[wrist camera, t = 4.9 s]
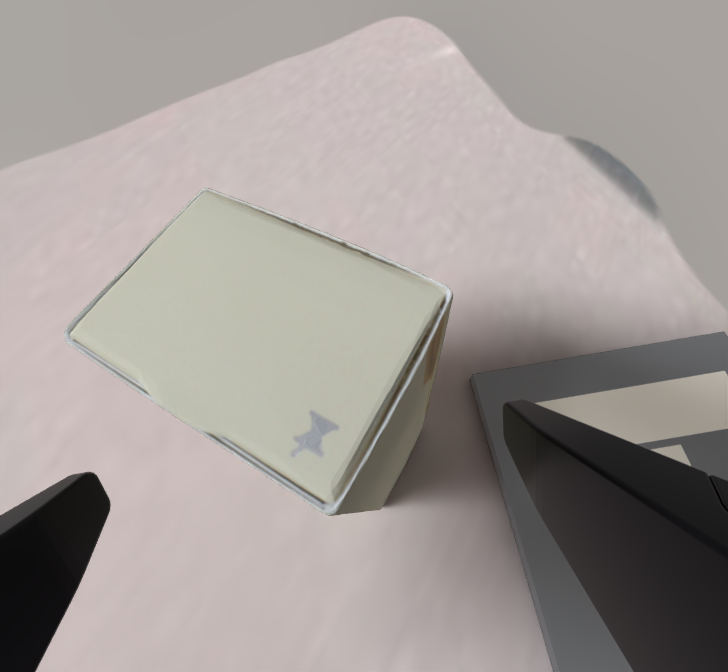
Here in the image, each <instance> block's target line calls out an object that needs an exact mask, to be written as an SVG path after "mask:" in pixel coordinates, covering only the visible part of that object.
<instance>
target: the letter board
mask: <svg viewBox="0 0 728 672" xmlns="http://www.w3.org/2000/svg"><path fill="white" fill-rule="evenodd" d="M470 382H471V385H472V389H473V392H474V396H475V399H476V403H477V406H478V410H479V413H480V417H481V420H482V424H483V427H484V431H485V434H486V438H487V441H488V445H489V448H490V452H491V455H492V459H493V462H494V466H495V469H496V473H497V476H498V480H499V483H500V487H501V490H502V494H503V497H504V501H505V504H506V508H507V511H508V515H509V518H510V522H511V525H512V529H513V532H514V536H515V539H516V543H517V546H518V550H519V553H520V557H521V560H522V564H523V567H524V571H525V574H526V578H527V581H528V585H529V588H530V591H531V595H532V598H533V602H534V605H535V609H536V612H537V616H538V619H539V623H540V626H541V630H542V633H543V637H544V640H545V644H546V647H547V651H548V654H549V658H550V661H551V665H552V668H553V672H633V670H632V669H631V667H630V665H629V664H628V662H627V660H626V659H625V657H624V655H623V654H622V652H621V650H620V649H619V647H618V645H617V644H616V642H615V640H614V639H613V637H612V635H611V634H610V632H609V630H608V629H607V627H606V625H605V624H604V622H603V620H602V619H601V617H600V615H599V614H598V612H597V610H596V609H595V607H594V605H593V604H592V602H591V600H590V598H589V597H588V595H587V593H586V592H585V590H584V588H583V587H582V585H581V583H580V582H579V580H578V578H577V577H576V575H575V573H574V572H573V570H572V568H571V567H570V565H569V563H568V562H567V560H566V558H565V557H564V555H563V553H562V552H561V550H560V548H559V547H558V545H557V543H556V542H555V540H554V538H553V537H552V535H551V533H550V532H549V530H548V528H547V527H546V525H545V523H544V522H543V520H542V518H541V517H540V515H539V513H538V511H537V510H536V508H535V506H534V504H533V502H532V500H531V498H530V495H529V493H528V491H527V489H526V487H525V485H524V482H523V480H522V478H521V476H520V474H519V472H518V469H517V467H516V465H515V463H514V461H513V459H512V456H511V454H510V452H509V450H508V448H507V446H506V443H505V440H504V435H503V404H504V403H505V402H506V401H511V400H516V399H525V400H528V401H530V402H533V403H535V404H538V405H540V406H543V407H545V408H548V409H550V410H553V411H555V412H558V413H560V414H563V415H565V416H568V417H570V418H573V419H575V420H578V421H580V422H582V423H585V424H587V425H590V426H592V427H595V428H597V429H600V430H602V431H605V432H607V433H610V434H612V435H615V436H617V437H620V438H622V439H625V440H627V441H630V442H632V443H635V444H637V445H640V446H642V447H645V448H647V449H650V450H652V451H655V452H657V453H660V454H662V455H665V456H667V457H670V458H672V459H675V460H677V461H680V462H682V463H684V464H687V465H689V466H692V467H694V468H697V469H699V470H702V471H704V472H706V473H707V474H708V475H709V476H710V475H715V476H717V477H720V478H722V479H725V480H727V481H728V337H727V335H726V334H725V332H718V333H712V334H706V335H701V336H695V337H689V338H683V339H677V340H671V341H665V342H660V343H654V344H648V345H642V346H636V347H630V348H624V349H619V350H613V351H607V352H601V353H595V354H589V355H583V356H577V357H572V358H566V359H560V360H554V361H548V362H542V363H536V364H531V365H525V366H519V367H513V368H507V369H501V370H495V371H490V372H484V373H478V374H473V375H472V377H471V378H470Z"/></svg>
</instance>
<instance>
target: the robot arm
mask: <svg viewBox="0 0 728 672" xmlns="http://www.w3.org/2000/svg"><path fill="white" fill-rule="evenodd" d="M503 435H504V440H505V443H506V446H507V448H508V450H509V452H510V454H511V456H512V459H513V461H514V463H515V465H516V467H517V469H518V472H519V474H520V476H521V478H522V480H523V482H524V485H525V487H526V489H527V491H528V493H529V495H530V498H531V500H532V502H533V504H534V506H535V508H536V510H537V511H538V513H539V515H540V517H541V518H542V520H543V522H544V523H545V525H546V527H547V528H548V530H549V532H550V533H551V535H552V537H553V538H554V540H555V542H556V543H557V545H558V547H559V548H560V550H561V552H562V553H563V555H564V557H565V558H566V560H567V562H568V563H569V565H570V567H571V568H572V570H573V572H574V573H575V575H576V577H577V578H578V580H579V582H580V583H581V585H582V587H583V588H584V590H585V592H586V593H587V595H588V597H589V598H590V600H591V602H592V604H593V605H594V607H595V609H596V610H597V612H598V614H599V615H600V617H601V619H602V620H603V622H604V624H605V625H606V627H607V629H608V630H609V632H610V634H611V635H612V637H613V639H614V640H615V642H616V644H617V645H618V647H619V649H620V650H621V652H622V654H623V655H624V657H625V659H626V660H627V662H628V664H629V665H630V667H631V669H632V670H633V672H728V481H727V480H725V479H722V478H720V477H717V476H715V475H710V476H709V475H708V474H707V473H706V472H704V471H702V470H699V469H697V468H694V467H692V466H689V465H687V464H684V463H682V462H680V461H677V460H675V459H672V458H670V457H667V456H665V455H662V454H660V453H657V452H655V451H652V450H650V449H647V448H645V447H642V446H640V445H637V444H635V443H632V442H630V441H627V440H625V439H622V438H620V437H617V436H615V435H612V434H610V433H607V432H605V431H602V430H600V429H597V428H595V427H592V426H590V425H587V424H585V423H582V422H580V421H578V420H575V419H573V418H570V417H568V416H565V415H563V414H560V413H558V412H555V411H553V410H550V409H548V408H545V407H543V406H540V405H538V404H535V403H533V402H530V401H528V400H525V399H516V400H511V401H506V402H505V403H504V404H503ZM109 512H110V500H109V497H108V495H107V494H106V492H105V490H104V488H103V486H102V484H101V482H100V480H99V478H98V477H97V475H96V474H94V473H93V472H85V473H79V474H73V475H70V476H68V477H66V478H65V479H63V480H61V481H59V482H58V483H56V484H54V485H52V486H51V487H49V488H47V489H46V490H44V491H42V492H40V493H39V494H37V495H35V496H33V497H32V498H30V499H28V500H26V501H25V502H23V503H21V504H19V505H18V506H16V507H14V508H13V509H11V510H9V511H7V512H6V513H4V514H2V515H0V672H36V670H37V668H38V666H39V664H40V662H41V660H42V658H43V656H44V654H45V652H46V650H47V648H48V646H49V644H50V642H51V640H52V638H53V636H54V634H55V632H56V630H57V628H58V626H59V624H60V623H61V621H62V619H63V617H64V615H65V613H66V611H67V609H68V607H69V605H70V603H71V601H72V599H73V597H74V595H75V593H76V591H77V589H78V587H79V584H80V582H81V580H82V578H83V575H84V573H85V571H86V568H87V566H88V563H89V561H90V558H91V556H92V553H93V551H94V549H95V546H96V544H97V541H98V539H99V536H100V534H101V531H102V529H103V527H104V524H105V522H106V519H107V517H108V514H109Z"/></svg>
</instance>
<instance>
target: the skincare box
mask: <svg viewBox="0 0 728 672" xmlns="http://www.w3.org/2000/svg"><path fill="white" fill-rule="evenodd" d="M452 300H453V293H452V291H451V290H450V288H448V287H447V286H445V285H443V284H441V283H439V282H437V281H434V280H432V279H430V278H428V277H426V276H425V275H423V274H421V273H419V272H416V271H414V270H411V269H409V268H407V267H405V266H403V265H401V264H399V263H397V262H394V261H392V260H389V259H387V258H385V257H383V256H380V255H378V254H376V253H373V252H371V251H369V250H367V249H365V248H362V247H359V246H357V245H354V244H352V243H350V242H347V241H345V240H342V239H339V238H337V237H334V236H332V235H330V234H328V233H325V232H322V231H320V230H317V229H315V228H312V227H310V226H307V225H305V224H302V223H300V222H297V221H295V220H292V219H289V218H287V217H284V216H282V215H279V214H276V213H274V212H271V211H269V210H266V209H264V208H261V207H258V206H255V205H253V204H250V203H247V202H245V201H242V200H239V199H236V198H233V197H230V196H228V195H225V194H223V193H220V192H217V191H215V190H212V189H210V188H204V189H202V190H201V191H200V192H198V193H197V194H196V195H195V196H194V197H193V199H192V200H191V201H190V202H189V203H188V204H187V205H186V206H185V207H184V208H183V209H182V210H181V211H180V212H179V213H178V214H177V215H176V216H175V217H174V218H173V219H172V220H171V221H170V222H169V223H168V224H167V225H166V226H165V227H164V228H163V229H162V230H161V231H160V232H159V233H158V234H157V235H156V236H155V238H154V239H152V240H151V241H150V242H149V243H148V244H147V245H146V246H145V247H144V248H143V249H142V250H141V251H140V252H139V253H138V255H137V256H136V257H135V258H134V259H133V260H132V261H131V262H130V263H129V264H128V265H127V266H126V267H125V268H124V269H123V270H122V271H121V272H120V273H119V274H118V275H117V276H116V277H115V278H114V279H113V280H112V281H111V282H110V283H109V284H108V285H107V286H106V287H105V288H104V289H103V290H102V291H101V292H100V293H99V294H98V295H97V296H96V297H95V299H94V300H93V301H92V302H91V303H90V304H89V305H88V306H87V307H86V308H85V309H84V310H83V311H82V312H81V313H80V314H79V315H78V316H77V317H76V318H75V319H74V320H73V321H72V322H71V323H70V324H69V325H68V326H67V327H66V329H65V334H64V336H65V341H66V342H67V344H68V345H70V346H71V347H73V348H75V349H76V350H77V351H79V352H80V353H82V354H83V355H85V356H86V357H88V358H89V359H91V360H92V361H93V362H95V363H96V364H98V365H99V366H101V367H102V368H104V369H105V370H107V371H108V372H109V373H111V374H112V375H114V376H115V377H117V378H118V379H120V380H121V381H123V382H124V383H126V384H127V385H129V386H130V387H131V388H133V389H134V390H136V391H138V392H139V393H141V394H142V395H144V396H145V397H147V398H148V399H149V400H151V401H152V402H154V403H155V404H157V405H158V406H160V407H161V408H163V409H164V410H166V411H167V412H169V413H170V414H172V415H173V416H175V417H176V418H178V419H180V420H181V421H183V422H184V423H186V424H187V425H189V426H190V427H192V428H194V429H195V430H197V431H198V432H200V433H201V434H203V435H204V436H206V437H207V438H209V439H210V440H212V441H213V442H215V443H216V444H218V445H220V446H221V447H223V448H224V449H226V450H227V451H229V452H231V453H232V454H234V455H235V456H237V457H238V458H240V459H241V460H243V461H244V462H246V463H247V464H249V465H250V466H252V467H253V468H255V469H256V470H258V471H260V472H261V473H263V474H264V475H266V476H267V477H268V478H270V479H271V480H273V481H274V482H276V483H277V484H279V485H281V486H282V487H284V488H286V489H287V490H289V491H291V492H293V493H294V494H296V495H297V496H298V497H300V498H301V499H303V500H304V501H306V502H307V503H309V504H310V505H312V506H313V507H314V508H316V509H317V510H319V511H320V512H322V513H324V514H326V515H328V516H334V515H340V514H348V513H357V512H364V511H372V510H380V509H381V508H382V507H383V505H384V503H385V501H386V500H387V498H388V496H389V494H390V492H391V490H392V489H393V487H394V485H395V483H396V481H397V479H398V478H399V476H400V474H401V472H402V470H403V468H404V466H405V464H406V462H407V460H408V458H409V456H410V454H411V452H412V450H413V448H414V446H415V444H416V441H417V439H418V437H419V435H420V432H421V430H422V428H423V423H424V420H425V416H426V411H427V407H428V403H429V399H430V395H431V391H432V387H433V383H434V379H435V375H436V370H437V366H438V362H439V358H440V353H441V348H442V344H443V340H444V336H445V331H446V326H447V322H448V318H449V312H450V308H451V304H452Z"/></svg>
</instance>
